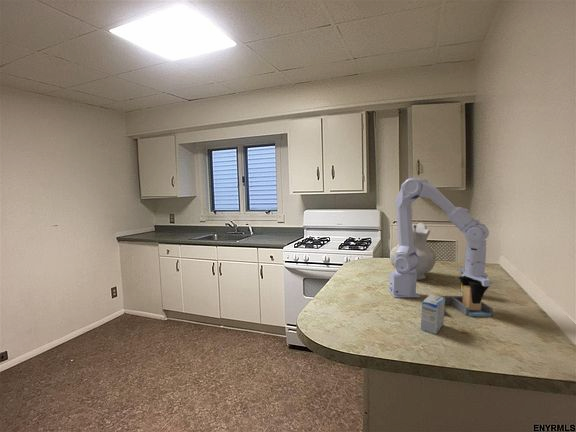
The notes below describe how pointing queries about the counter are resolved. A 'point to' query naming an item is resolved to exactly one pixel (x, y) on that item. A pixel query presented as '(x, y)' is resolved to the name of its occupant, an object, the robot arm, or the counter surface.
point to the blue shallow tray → (457, 303)
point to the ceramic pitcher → (419, 250)
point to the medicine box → (432, 313)
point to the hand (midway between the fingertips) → (472, 300)
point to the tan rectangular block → (469, 299)
